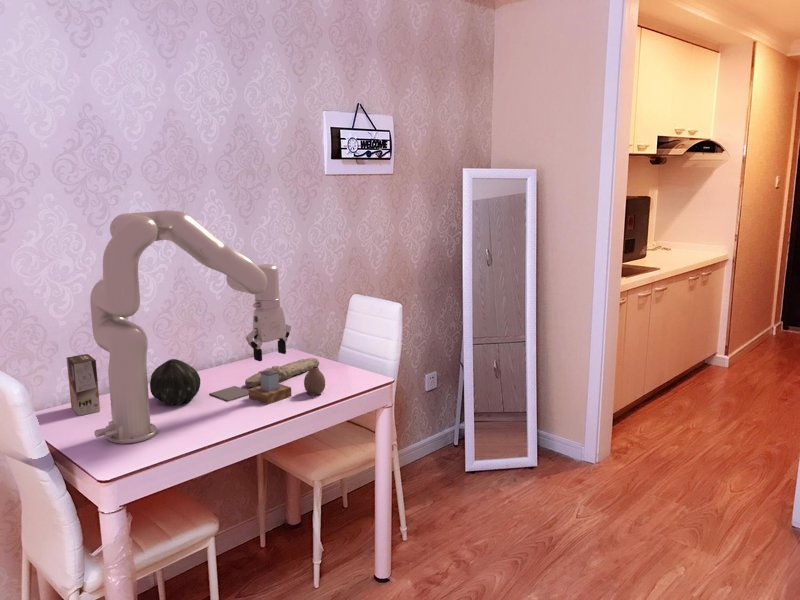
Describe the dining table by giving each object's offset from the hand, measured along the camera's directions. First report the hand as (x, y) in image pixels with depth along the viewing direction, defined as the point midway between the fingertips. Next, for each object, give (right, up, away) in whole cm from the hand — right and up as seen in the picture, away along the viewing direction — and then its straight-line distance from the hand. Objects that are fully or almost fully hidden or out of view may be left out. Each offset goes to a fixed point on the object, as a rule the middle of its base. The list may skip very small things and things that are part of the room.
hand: (270, 356), depth 205 cm
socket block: (-1, -13, +2) cm, 13 cm away
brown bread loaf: (0, -9, +25) cm, 26 cm away
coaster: (-14, -13, +5) cm, 19 cm away
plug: (-1, -13, +2) cm, 13 cm away
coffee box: (-54, -15, -10) cm, 57 cm away
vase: (+13, -13, +6) cm, 20 cm away
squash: (-29, -14, -1) cm, 32 cm away
